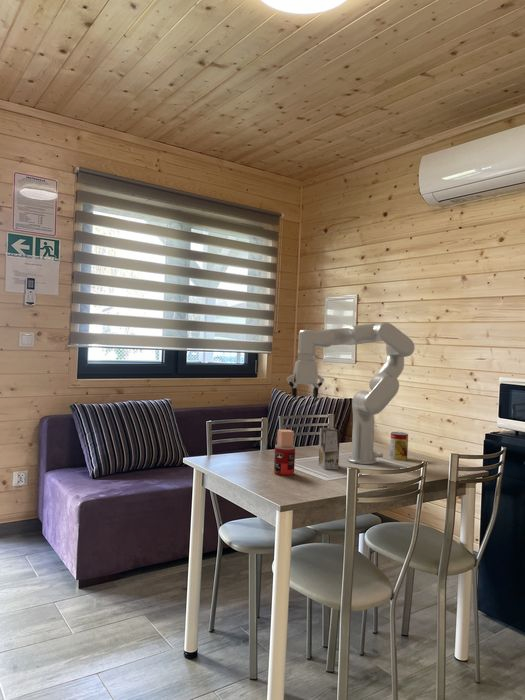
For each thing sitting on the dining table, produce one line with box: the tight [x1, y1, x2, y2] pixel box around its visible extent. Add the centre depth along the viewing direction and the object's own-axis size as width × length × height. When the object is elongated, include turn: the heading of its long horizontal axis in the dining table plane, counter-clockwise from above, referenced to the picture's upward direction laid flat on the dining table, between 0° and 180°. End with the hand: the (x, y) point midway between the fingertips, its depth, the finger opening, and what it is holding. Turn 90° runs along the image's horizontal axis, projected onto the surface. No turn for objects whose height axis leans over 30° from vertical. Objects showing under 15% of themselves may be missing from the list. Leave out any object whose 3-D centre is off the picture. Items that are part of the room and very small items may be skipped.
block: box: [276, 429, 295, 447], centre depth 206 cm, size 5×5×6 cm
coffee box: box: [318, 427, 341, 470], centre depth 221 cm, size 9×6×16 cm
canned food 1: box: [273, 444, 296, 477], centre depth 206 cm, size 8×8×11 cm
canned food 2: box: [389, 431, 409, 462], centre depth 245 cm, size 8×8×12 cm
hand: (304, 397), depth 228 cm, fingers open, 9 cm apart
